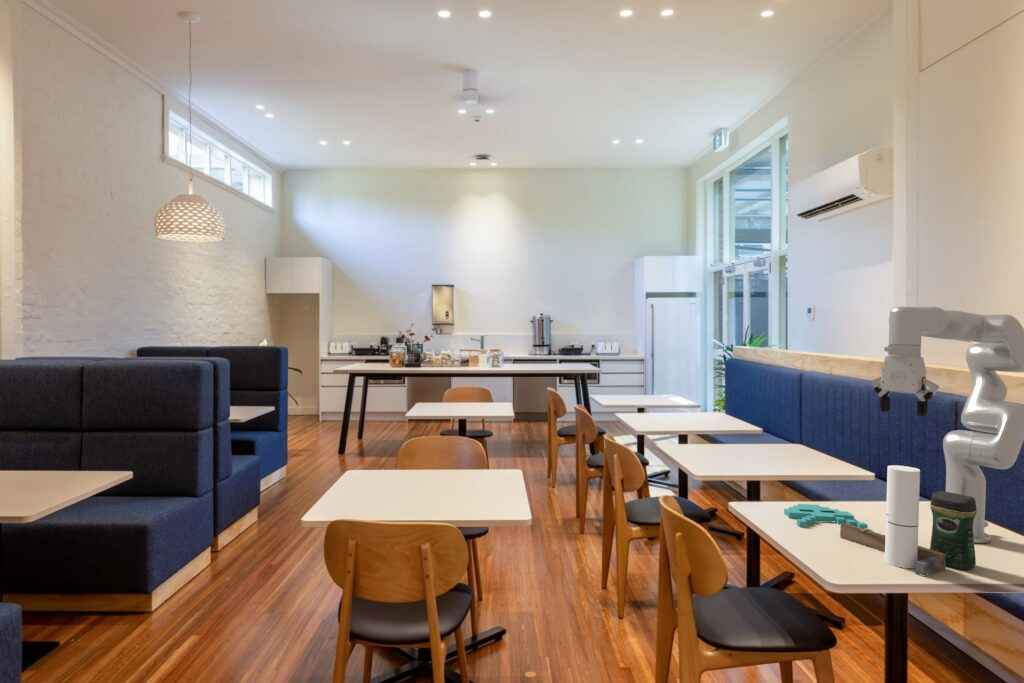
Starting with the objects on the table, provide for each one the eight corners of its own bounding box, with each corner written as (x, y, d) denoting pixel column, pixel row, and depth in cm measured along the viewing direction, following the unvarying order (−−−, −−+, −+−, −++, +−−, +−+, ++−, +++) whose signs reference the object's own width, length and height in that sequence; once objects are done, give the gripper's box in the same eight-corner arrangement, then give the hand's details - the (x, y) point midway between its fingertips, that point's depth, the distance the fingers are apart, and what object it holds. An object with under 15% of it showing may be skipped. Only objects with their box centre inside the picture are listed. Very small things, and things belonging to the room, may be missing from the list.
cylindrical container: (910, 559, 160) (913, 466, 160) (922, 570, 153) (925, 472, 153) (880, 557, 162) (883, 464, 161) (890, 567, 155) (893, 470, 154)
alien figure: (867, 531, 184) (838, 512, 204) (867, 524, 184) (838, 505, 204) (799, 528, 186) (777, 509, 206) (799, 521, 186) (777, 502, 206)
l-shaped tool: (844, 536, 178) (845, 522, 177) (945, 569, 154) (946, 552, 154) (822, 541, 173) (823, 526, 173) (923, 576, 149) (924, 559, 149)
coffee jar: (979, 566, 156) (982, 495, 156) (967, 573, 151) (969, 500, 151) (937, 554, 164) (939, 487, 164) (924, 560, 160) (926, 491, 159)
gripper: (865, 350, 172) (863, 410, 172) (931, 352, 157) (929, 418, 157) (880, 350, 175) (879, 408, 176) (946, 352, 160) (944, 416, 160)
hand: (902, 413), depth 166 cm, fingers open, 9 cm apart
